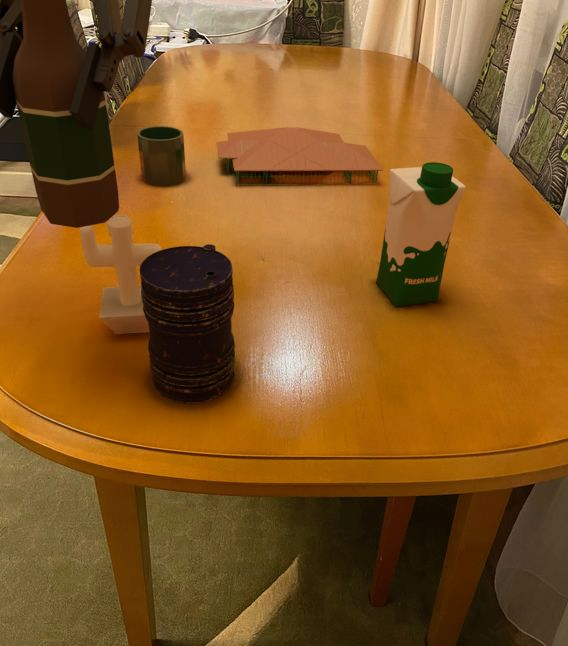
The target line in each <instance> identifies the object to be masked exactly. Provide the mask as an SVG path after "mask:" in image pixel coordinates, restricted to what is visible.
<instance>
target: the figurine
mask: <svg viewBox="0 0 568 646" xmlns="http://www.w3.org/2000/svg"><path fill="white" fill-rule="evenodd" d="M106 222H107V223H106V224H107V225H106V226H107V230H108V235H109V237H110V238H111V243H109V244H99V243H98V242H97V238H96V235H95V234H96V233H95V229H94V225H90V226H85V227H79V237H80V242H81V247H82V253H83V258H84V261H85V263H86V265H88V266H89V267H90V268H113V269H115V273H116V279H117V285H118V286H104V287H103V289H102V296H101V303H100V309H99V315H98V318H99V320H101V321H102V322H103V323H104V324H105V325H106V327H108V328H109V329H110V330H111V331H112V333H114V334H115V335H124V334H142V333H145V334H146V333H149V326H148V321H147V320H146V318H145V314H144V312H143V302H142V296H141V288H142V287H141V285H139V278H138V269H137V267H140V265H141V263H142V262H143V260H144V259H146V258H147V257H148V256H150V255H151V254H153V253H155V252H157V251H160V250H163V249H162V246H161V245H160V244H158V243H152V242H151V243H135V242H134V238H133V235H134V233H135V232H134V226H133V221H132V219H131V218H130V217H129V216H128V215H126V214H115V215H113V216H112V217H111V218H110V219H109V220H108V221H106Z"/></svg>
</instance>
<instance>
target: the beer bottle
mask: <svg viewBox="0 0 568 646" xmlns="http://www.w3.org/2000/svg"><path fill="white" fill-rule="evenodd" d="M20 3H21V10H22V17H23V41H22V43H21V45H20V48H19V50H18V52H17V54H16V57H15V61H14V68H13V76H12V79H13V86H14V93H15V99H16V108H17V112H18V117H19V121H20V122H19V123H20V127H21V130H22V136H23V139H24V144H25V148H26V153H27V158H28V162H29V166H30V171H31V175H32V181H33V185H34V188H35V194H36V197H37V201H38V203H39V207H40V210H41V212H42V213H43V215H44V216H45V218H46V219H47V221H48V222H49V223H50V224H51V225H56V226H62V227H68V228H74V229H80V227H85V226H90V225H92V226H95V225H100V224H105V223H106V222H108V221H109V220H110V219H111V218H112V216H114V215H117V213H119V210H120V198H119V188H118V181H117V180H118V179H117V174H116V165H115V157H114V152H113V143H112V136H111V129H110V122H109V115H108V107H107V100H106V95H105V92H104V91H103V95H102V98H101V102H100V105H99V109H98V112H97V116H96V120H95V123H94V127H93V130H89V129H85V128H84V127H83V126H82V125H81V124H80V123H79V122H78V121H77V120H76V119H75V118H74V117H73V116H72V115H71V114H70V113H69V111H70V107H71V104H72V100H73V97H74V93H75V90H76V86H77V83H78V79H79V76H80V72H81V69H82V65H83V62H84V58H85V55H86V50H85V49H84V48H83V47H82V45H81V44H80V42H79V41H78V39H77V37H76V34H75V30H74V27H73V24H72V20H71V18H70V17H71V16H70V12H69V7H68V3H67V0H20Z"/></svg>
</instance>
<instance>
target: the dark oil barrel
mask: <svg viewBox="0 0 568 646" xmlns="http://www.w3.org/2000/svg"><path fill="white" fill-rule="evenodd" d="M138 270H139V278H140V284H141V285H140V286H141V287H142V288H141V296H142V302H143V312H144V314H145V318H146V320H147V321H148V326H149V332H148V334H149V338H148V341H147V342H148V343H147V350H148V351H147V352H148V359H149V366H150V370H151V374H152V382H153V383H152V384H153V386H154V389H155V390H156V391H157V393H158V394H159V395H161V396H162V397H164V399H165V398H166V399H167V400H170V401H172V402H176V403H180V404H201V403H206V402H210V401H212V400H215V399H218V398H219V397H221V396H223V395H224V394H225V393H227V392H228V390H230V389H231V387H232V386H233V384H234V382H235V363H236V343H235V337H234V334H233V331H232V327H233V326H232V317H233V314H234V310H235V301H234V300H235V286H234V278H233V273H234V272H233V271H234V270H233V263H232V260H231V259H230V258H229V257H227V255H225V254H224V253H222V252H220V251H218V250H216V245H215V244H211V243H209V244H204V245H203V246H197V245H181V246H180V245H179V246H172V247H167V248H164V249H162V250H160V251H157V252H155V253H153V254H151V255H150V256H148V257H147V258H146V259H144V260H143V262H142V263H141V265H140V266H139V269H138Z"/></svg>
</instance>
